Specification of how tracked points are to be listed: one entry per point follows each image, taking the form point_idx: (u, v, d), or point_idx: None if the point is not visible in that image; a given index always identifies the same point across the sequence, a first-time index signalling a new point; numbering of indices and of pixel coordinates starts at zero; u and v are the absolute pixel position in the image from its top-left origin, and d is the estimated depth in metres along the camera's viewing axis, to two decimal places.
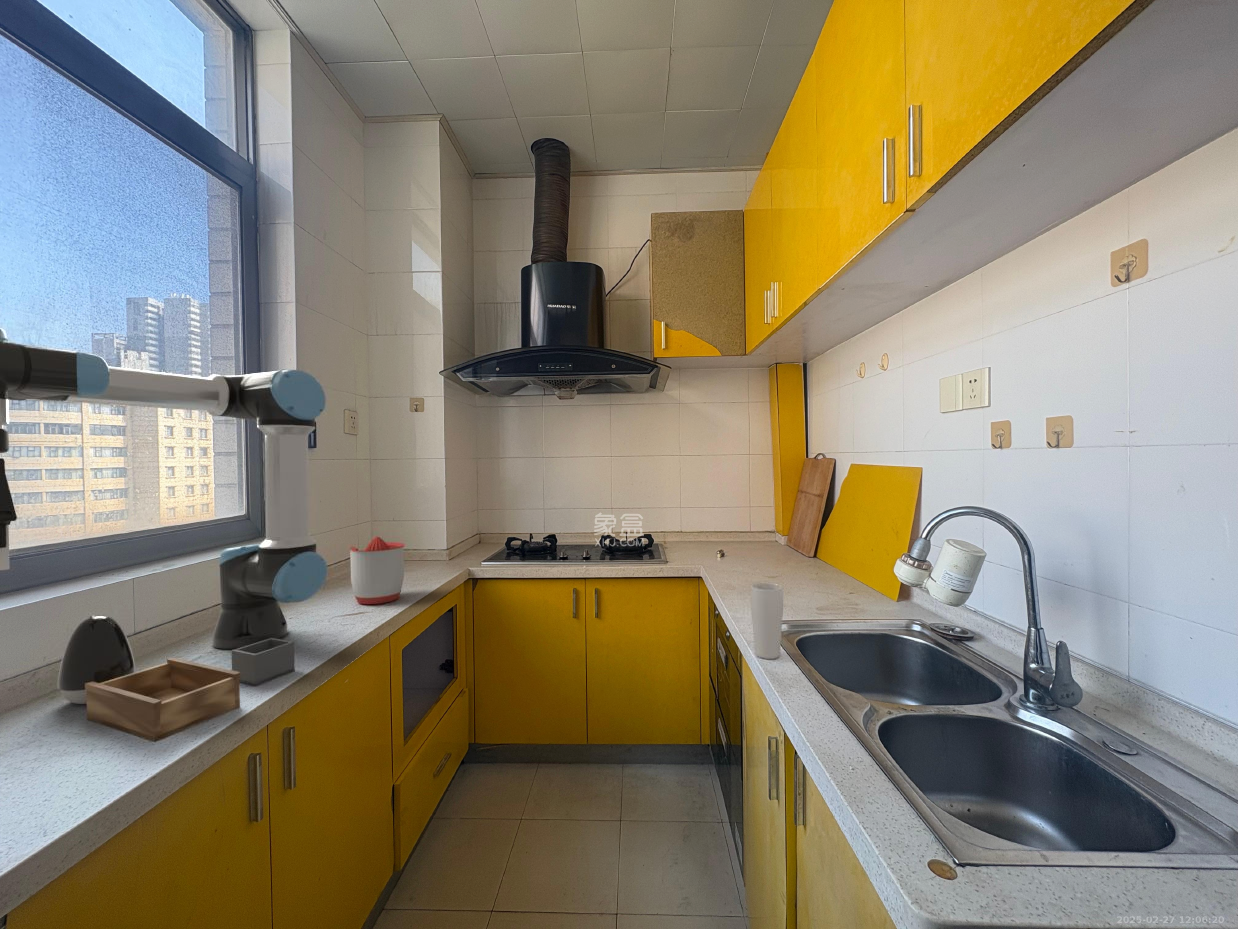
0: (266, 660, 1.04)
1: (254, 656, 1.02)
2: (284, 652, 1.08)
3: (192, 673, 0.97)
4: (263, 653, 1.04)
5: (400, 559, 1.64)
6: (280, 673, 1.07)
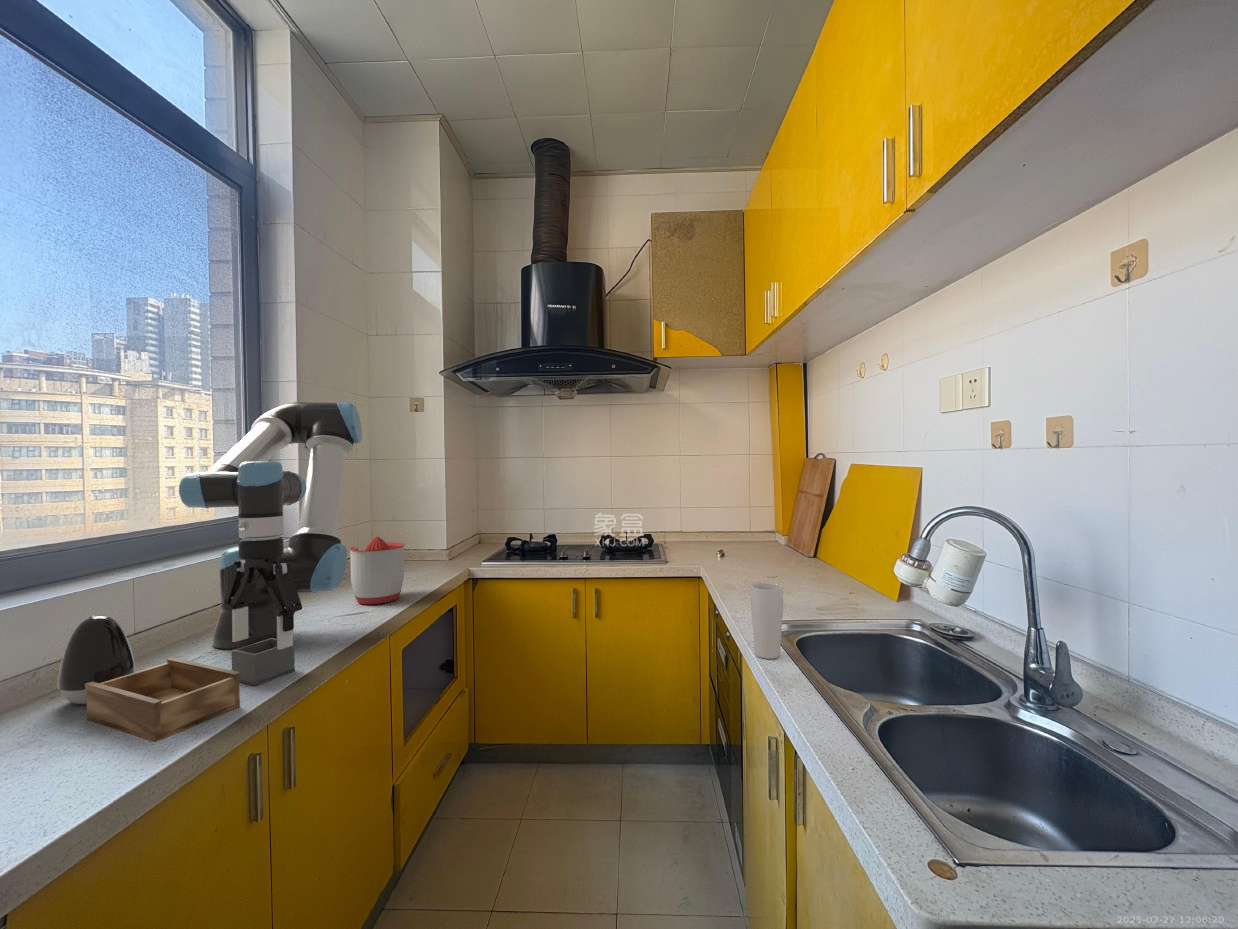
0: (266, 660, 1.04)
1: (254, 656, 1.02)
2: (284, 652, 1.08)
3: (192, 673, 0.97)
4: (263, 653, 1.04)
5: (400, 559, 1.64)
6: (280, 673, 1.07)
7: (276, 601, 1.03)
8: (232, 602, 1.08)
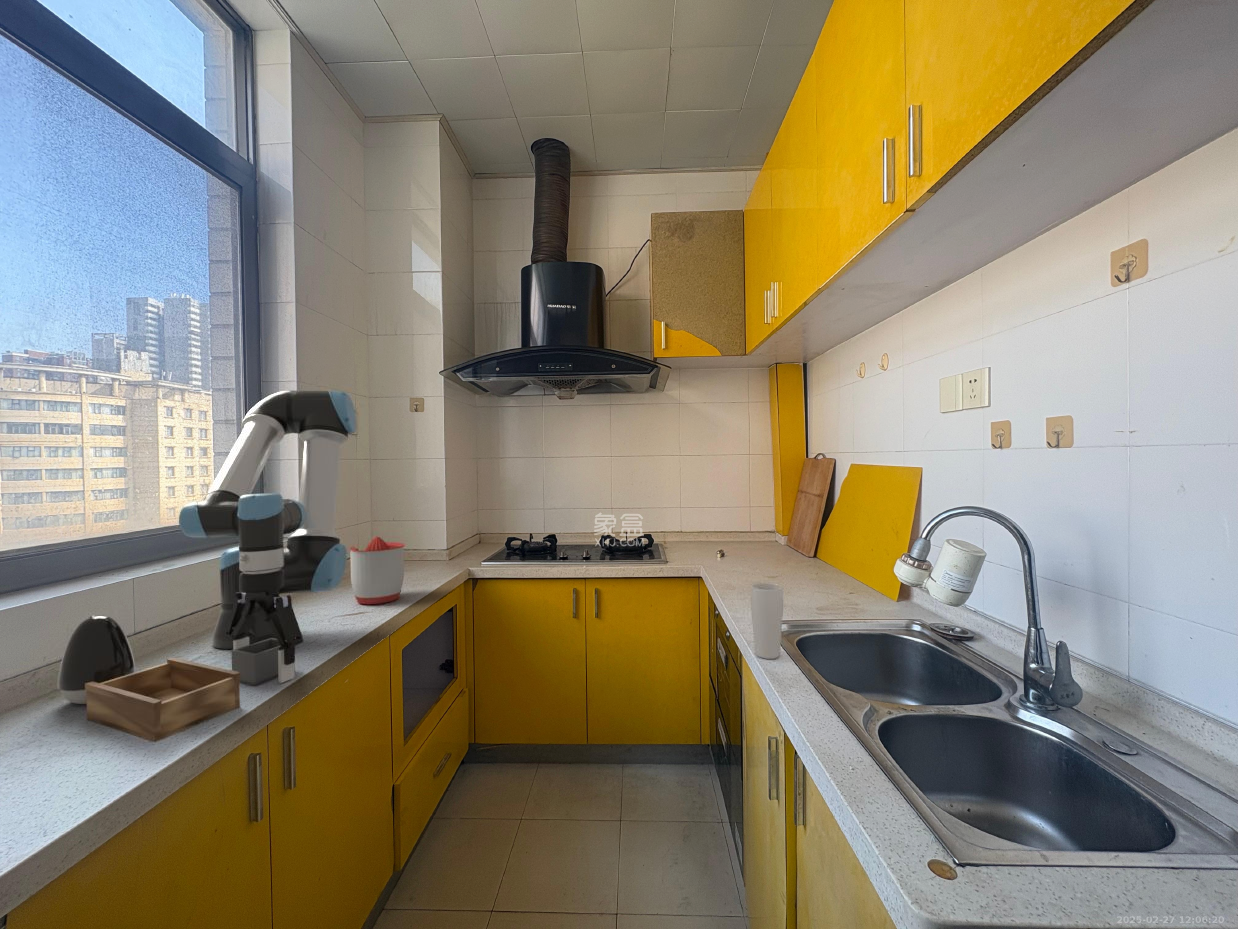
0: (266, 660, 1.04)
1: (254, 656, 1.02)
2: None
3: (192, 673, 0.97)
4: (263, 653, 1.04)
5: (400, 559, 1.64)
6: None
7: (277, 634, 1.03)
8: (233, 633, 1.09)
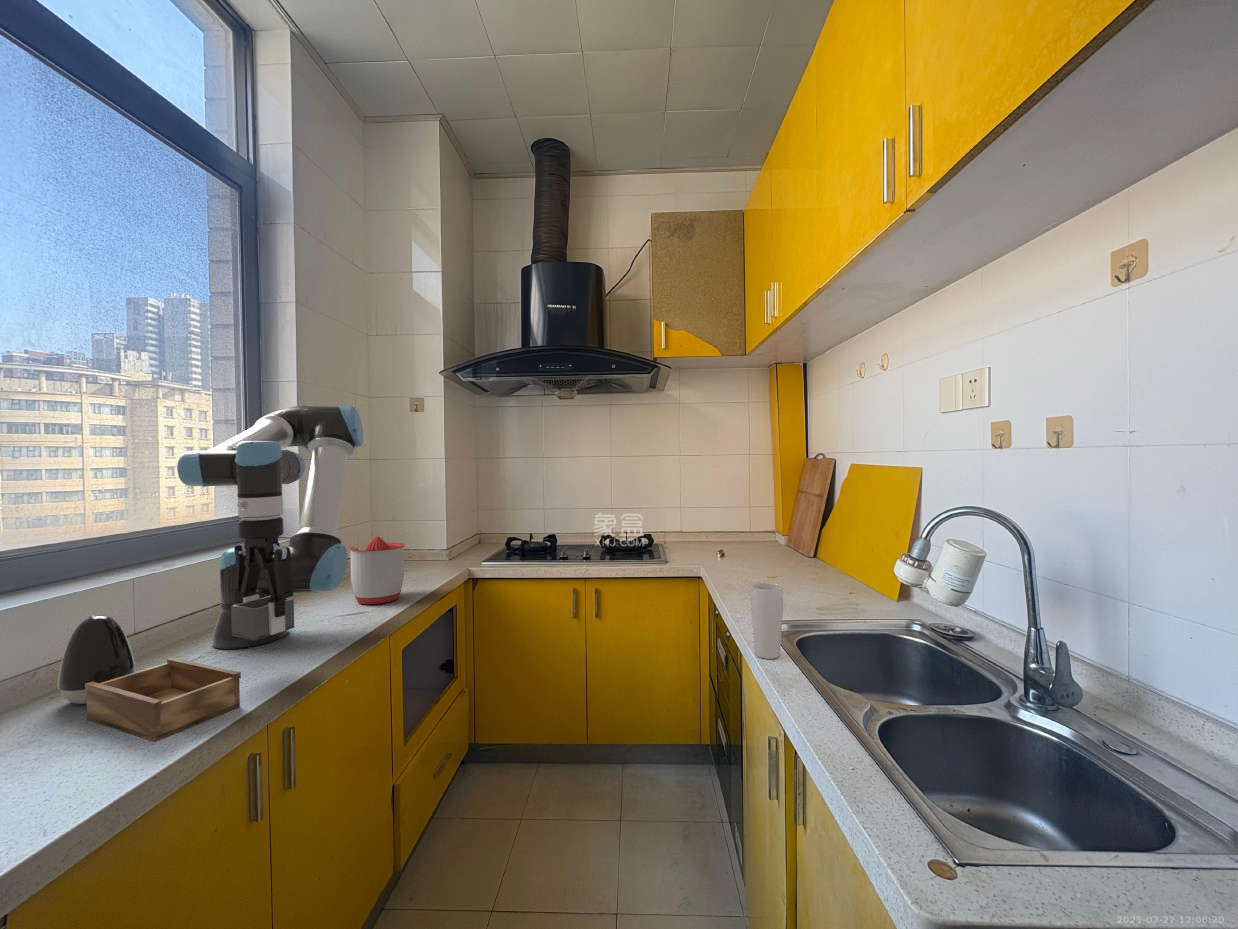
0: (266, 615, 1.05)
1: (253, 610, 1.02)
2: None
3: (192, 673, 0.97)
4: (263, 608, 1.04)
5: (400, 559, 1.64)
6: None
7: (270, 586, 1.05)
8: (242, 589, 1.08)
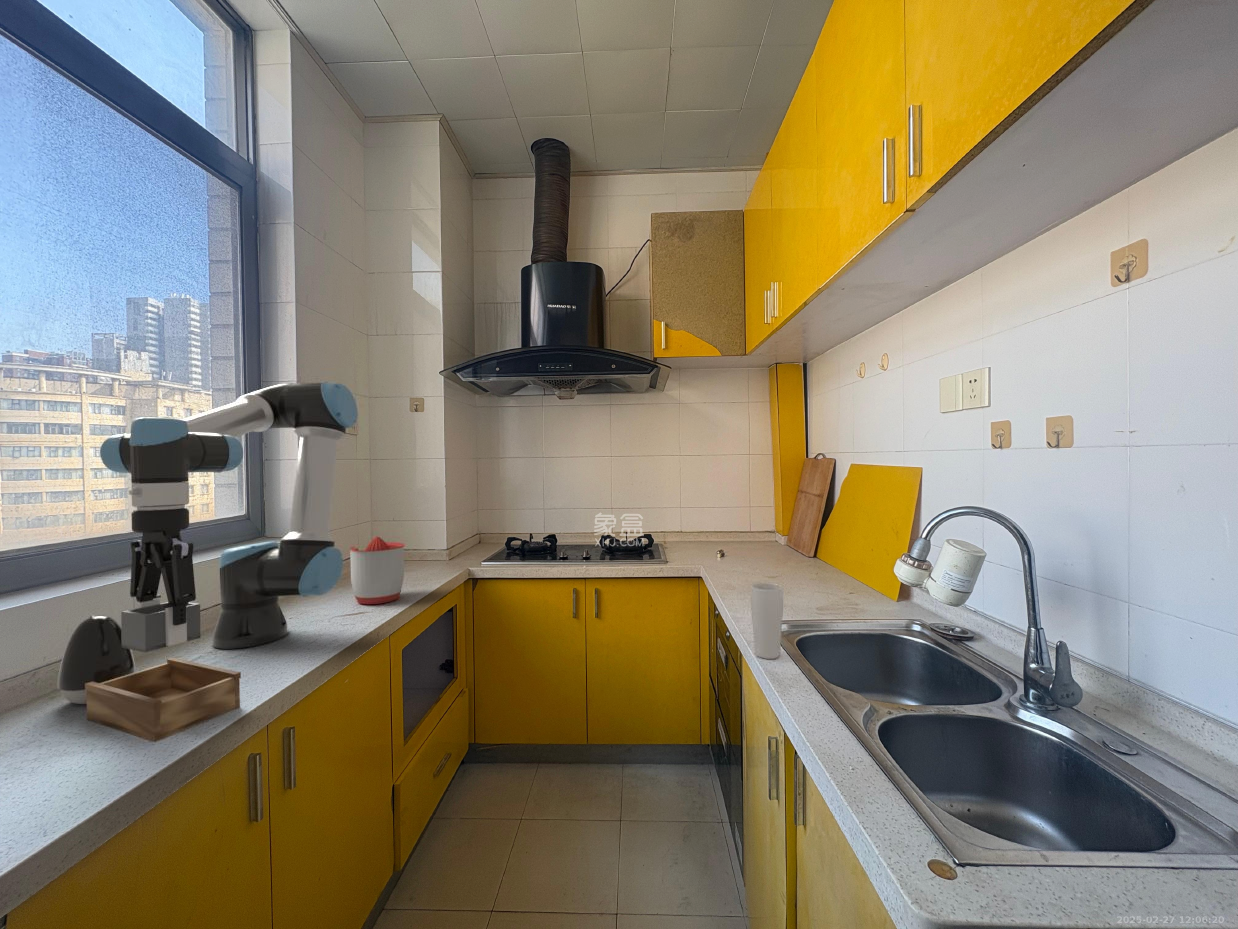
0: (162, 623, 0.88)
1: (144, 616, 0.86)
2: None
3: (192, 673, 0.97)
4: (157, 614, 0.88)
5: (400, 559, 1.64)
6: None
7: (167, 588, 0.89)
8: (138, 593, 0.92)
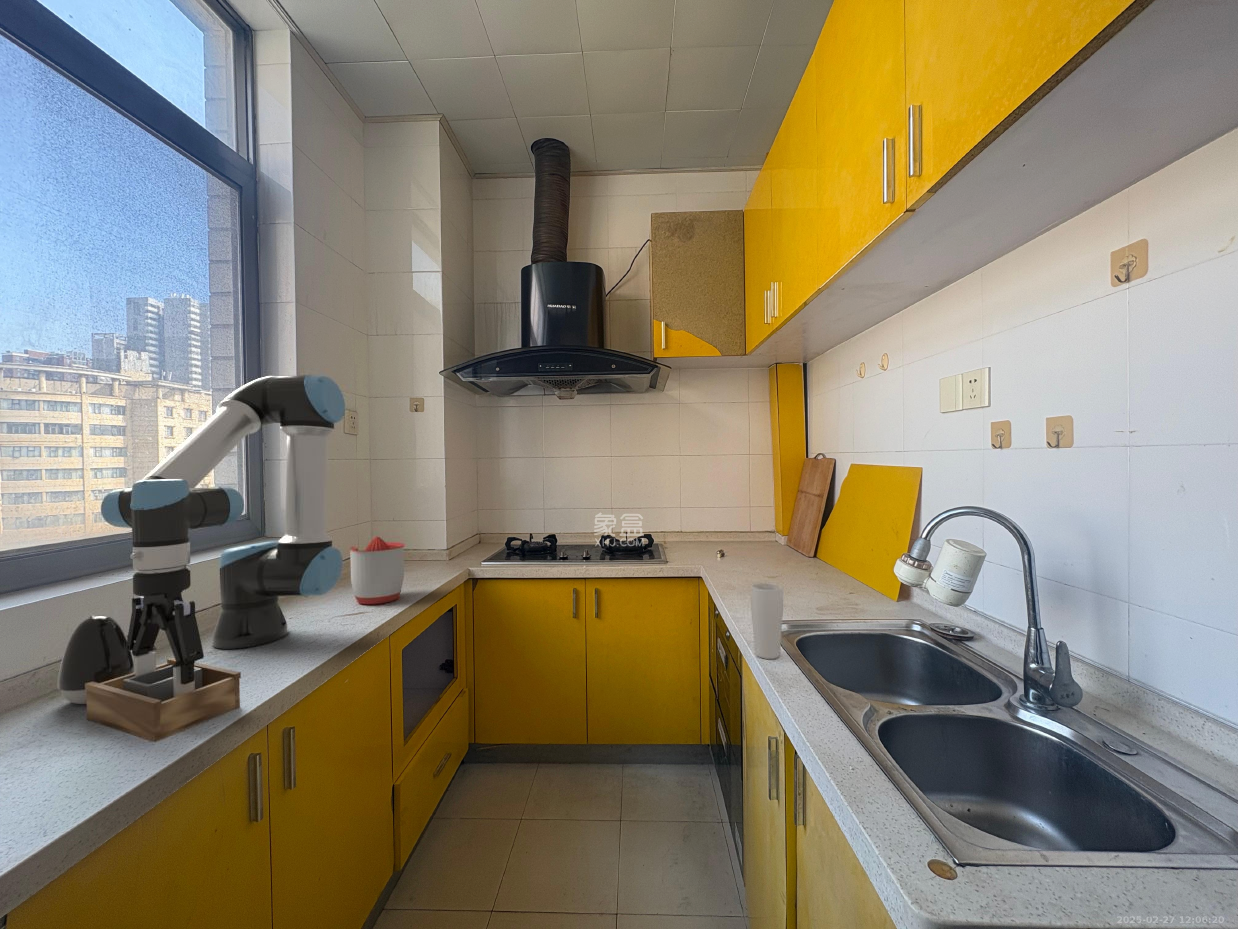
0: (164, 692, 0.88)
1: (146, 687, 0.86)
2: None
3: None
4: (159, 684, 0.88)
5: (400, 559, 1.64)
6: None
7: (173, 648, 0.88)
8: (134, 648, 0.93)
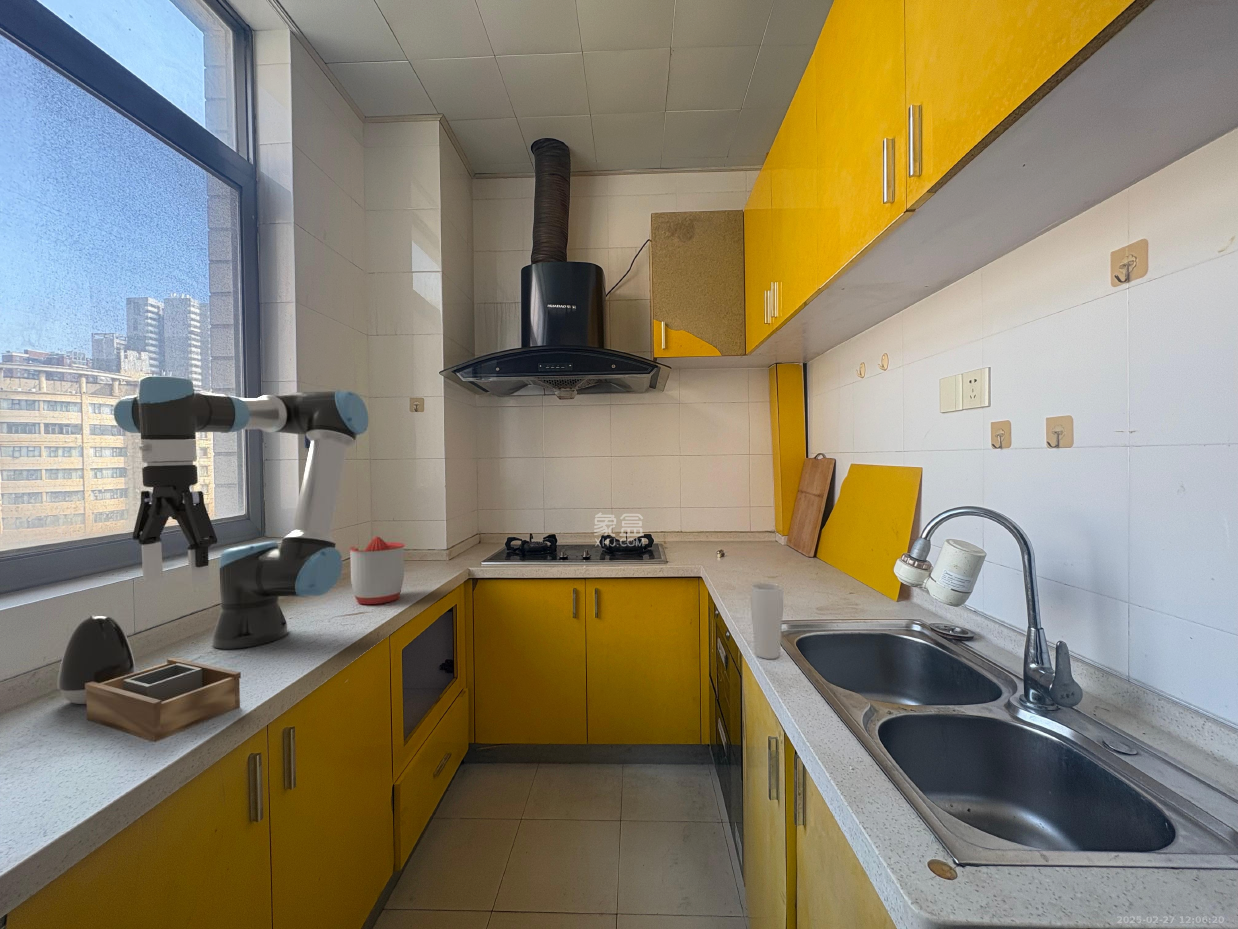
0: (164, 692, 0.88)
1: (146, 687, 0.86)
2: (188, 681, 0.92)
3: None
4: (159, 684, 0.88)
5: (400, 559, 1.64)
6: None
7: (187, 533, 0.92)
8: (141, 537, 0.97)
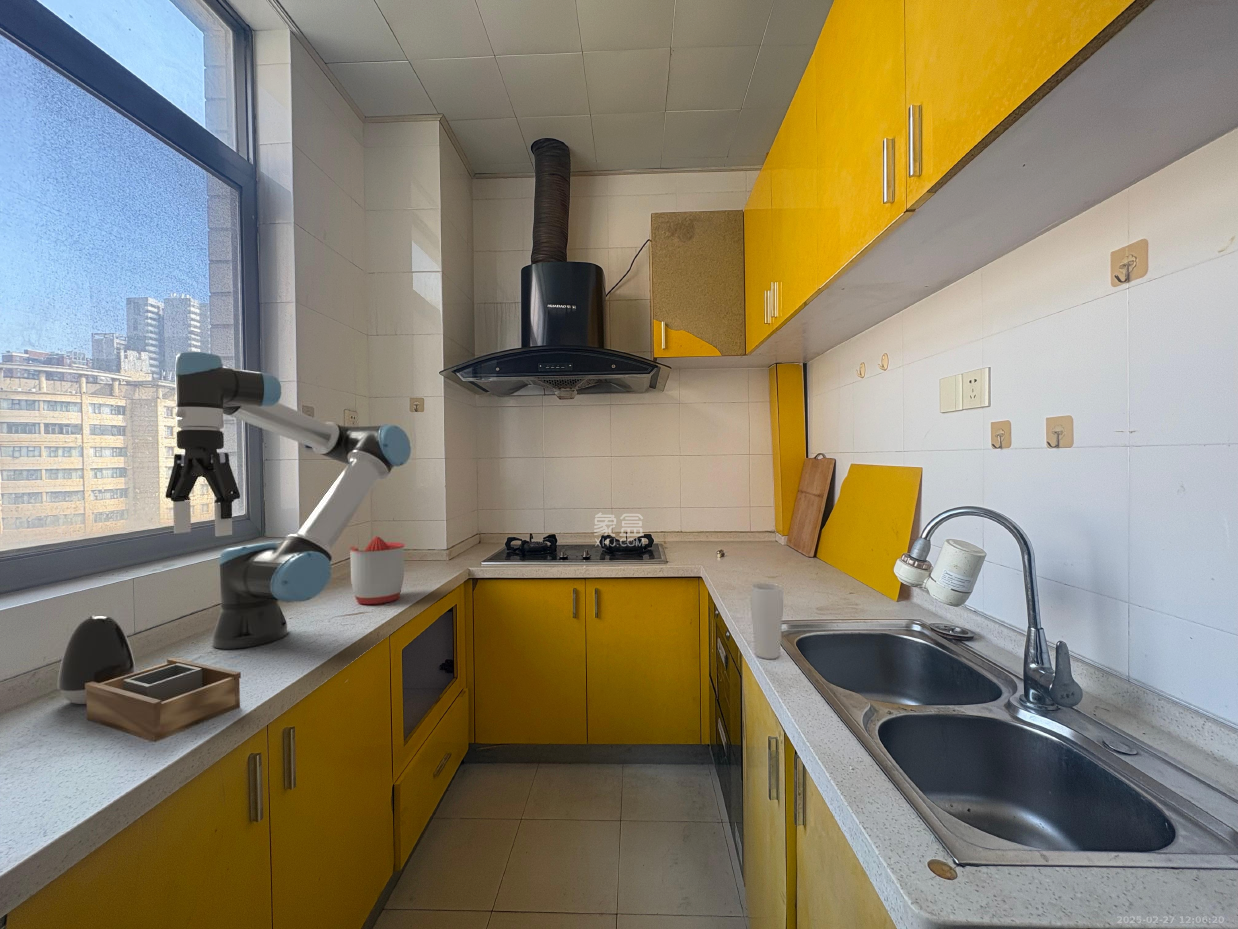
0: (164, 692, 0.88)
1: (146, 687, 0.86)
2: (188, 681, 0.92)
3: None
4: (159, 684, 0.88)
5: (400, 559, 1.64)
6: None
7: (214, 489, 1.04)
8: (173, 494, 1.10)
